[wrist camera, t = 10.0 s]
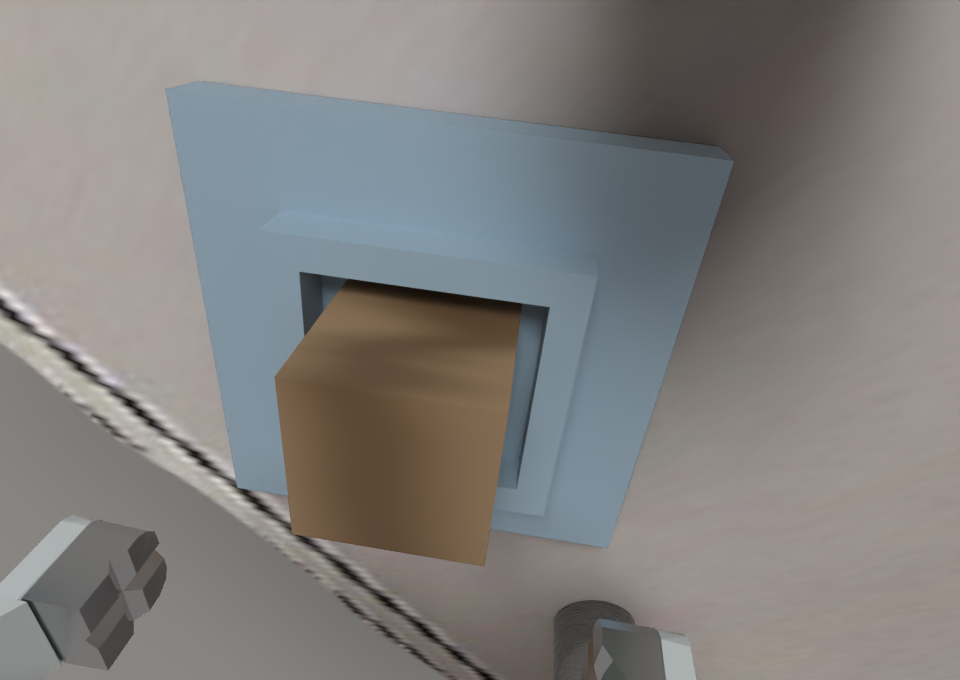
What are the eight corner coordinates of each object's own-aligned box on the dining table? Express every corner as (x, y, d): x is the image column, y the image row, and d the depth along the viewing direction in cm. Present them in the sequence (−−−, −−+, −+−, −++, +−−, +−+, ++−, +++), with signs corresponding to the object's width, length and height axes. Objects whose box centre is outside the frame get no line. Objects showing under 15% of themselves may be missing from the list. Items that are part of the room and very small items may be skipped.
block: (522, 302, 16) (508, 412, 12) (501, 436, 19) (483, 566, 14) (348, 277, 16) (274, 376, 12) (352, 412, 19) (292, 534, 15)
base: (719, 146, 15) (752, 178, 12) (605, 516, 22) (610, 584, 20) (197, 81, 15) (126, 97, 13) (255, 460, 23) (217, 518, 20)
